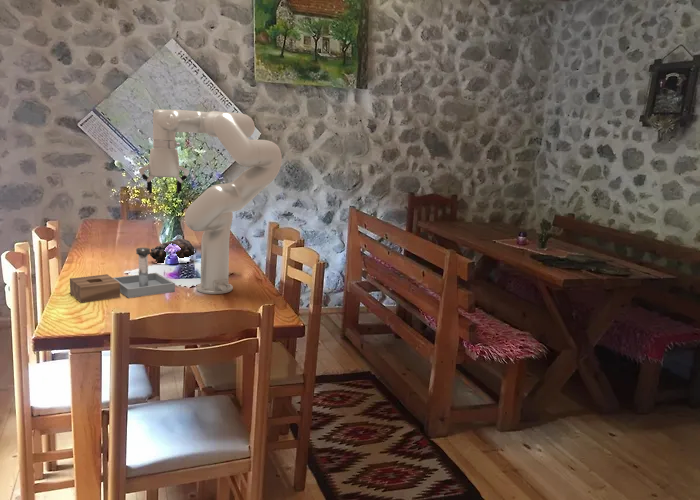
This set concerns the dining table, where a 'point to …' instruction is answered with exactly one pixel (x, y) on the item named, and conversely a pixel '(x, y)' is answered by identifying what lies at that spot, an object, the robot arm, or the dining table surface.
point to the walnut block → (94, 288)
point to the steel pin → (143, 266)
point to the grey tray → (155, 286)
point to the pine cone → (185, 251)
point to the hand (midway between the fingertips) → (164, 193)
